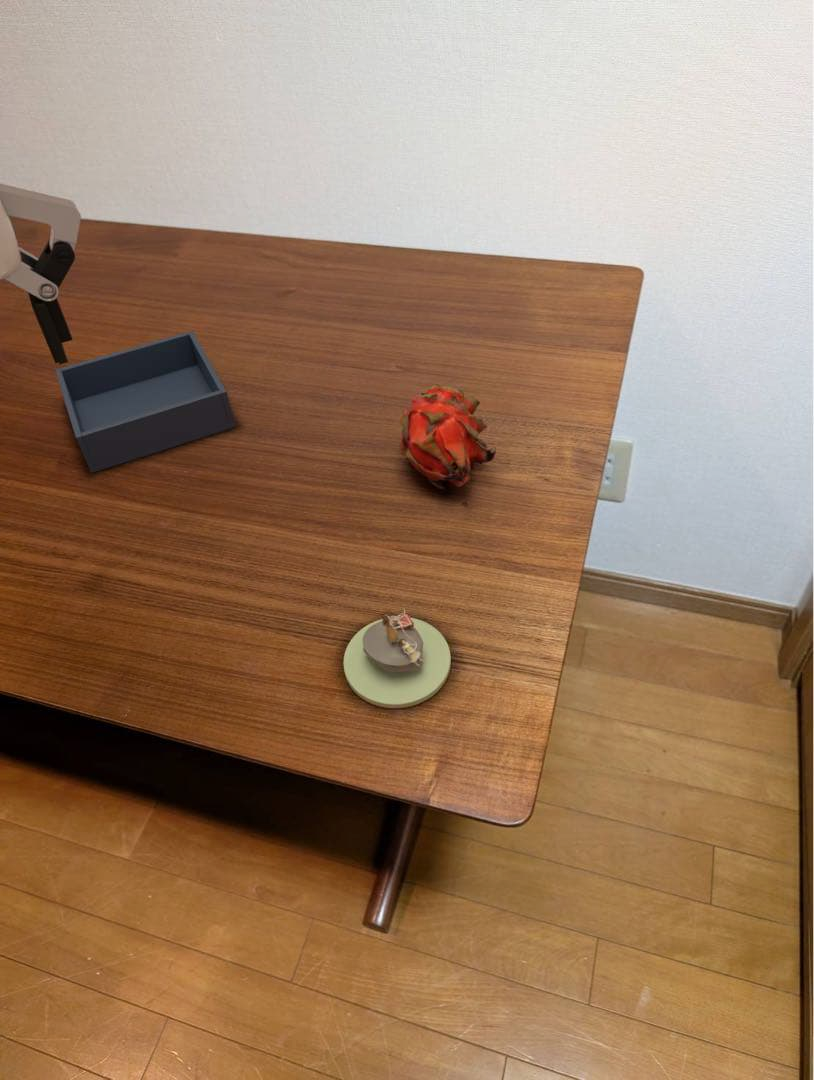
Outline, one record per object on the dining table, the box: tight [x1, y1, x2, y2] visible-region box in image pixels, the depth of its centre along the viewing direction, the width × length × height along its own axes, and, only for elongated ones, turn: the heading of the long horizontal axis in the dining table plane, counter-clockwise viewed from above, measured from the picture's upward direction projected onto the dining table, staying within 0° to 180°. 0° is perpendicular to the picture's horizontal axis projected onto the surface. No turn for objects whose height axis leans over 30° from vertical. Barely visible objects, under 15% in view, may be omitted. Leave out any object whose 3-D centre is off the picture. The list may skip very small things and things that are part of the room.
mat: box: [343, 616, 452, 709], centre depth 65 cm, size 8×8×1 cm
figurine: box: [362, 608, 424, 672], centre depth 63 cm, size 5×4×6 cm
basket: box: [54, 330, 236, 474], centre depth 88 cm, size 15×13×5 cm
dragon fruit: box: [399, 383, 497, 491], centre depth 79 cm, size 8×8×12 cm
